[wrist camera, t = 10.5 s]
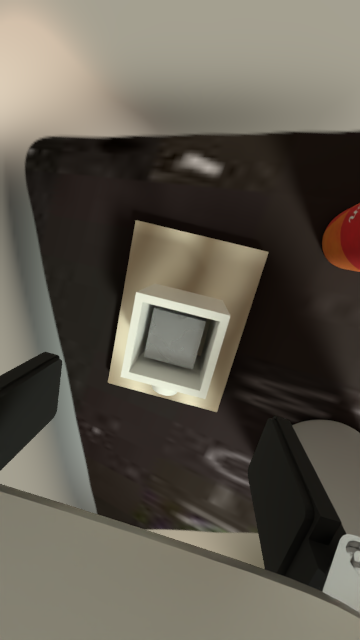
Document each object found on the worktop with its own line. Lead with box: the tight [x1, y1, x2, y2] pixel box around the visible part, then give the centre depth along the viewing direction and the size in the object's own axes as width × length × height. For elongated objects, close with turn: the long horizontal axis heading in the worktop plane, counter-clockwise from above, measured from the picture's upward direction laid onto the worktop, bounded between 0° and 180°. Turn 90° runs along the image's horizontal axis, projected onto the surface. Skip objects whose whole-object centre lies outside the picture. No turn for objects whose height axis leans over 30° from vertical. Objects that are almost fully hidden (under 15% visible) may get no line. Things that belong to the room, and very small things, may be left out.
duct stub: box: [144, 306, 206, 369], centre depth 22 cm, size 4×4×5 cm
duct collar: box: [121, 284, 231, 399], centre depth 21 cm, size 7×10×7 cm
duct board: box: [108, 220, 269, 412], centre depth 25 cm, size 13×18×2 cm
